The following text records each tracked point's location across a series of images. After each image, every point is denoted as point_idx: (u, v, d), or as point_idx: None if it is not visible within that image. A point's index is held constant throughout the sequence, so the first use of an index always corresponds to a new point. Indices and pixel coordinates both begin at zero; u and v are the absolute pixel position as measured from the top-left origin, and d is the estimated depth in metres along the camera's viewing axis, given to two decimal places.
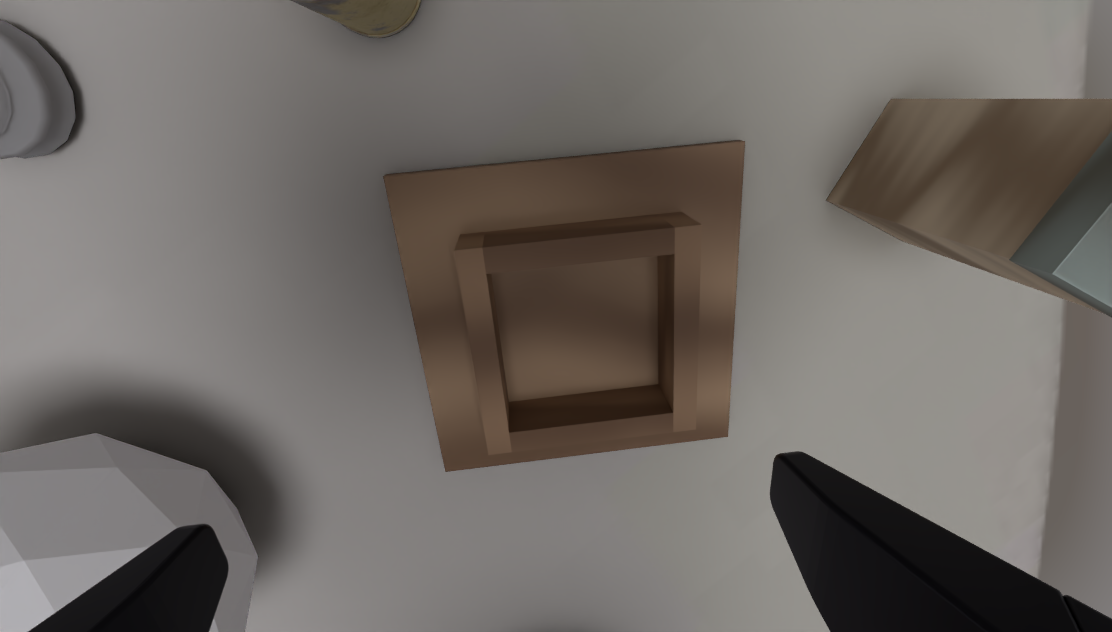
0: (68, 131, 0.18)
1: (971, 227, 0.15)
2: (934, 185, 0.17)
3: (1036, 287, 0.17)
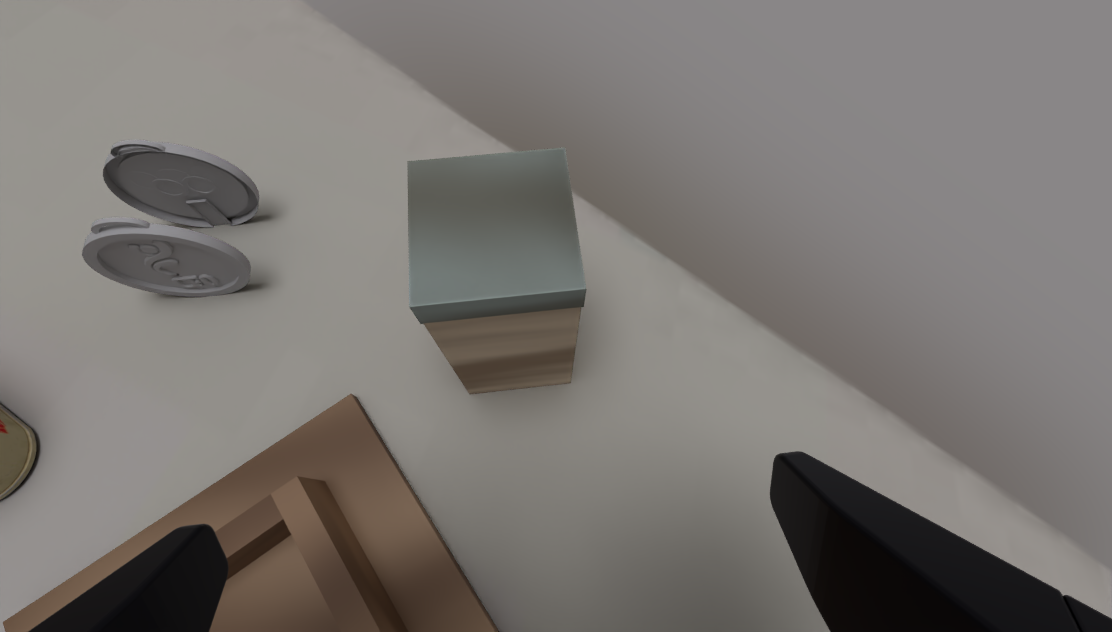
0: None
1: None
2: None
3: (564, 332, 0.16)
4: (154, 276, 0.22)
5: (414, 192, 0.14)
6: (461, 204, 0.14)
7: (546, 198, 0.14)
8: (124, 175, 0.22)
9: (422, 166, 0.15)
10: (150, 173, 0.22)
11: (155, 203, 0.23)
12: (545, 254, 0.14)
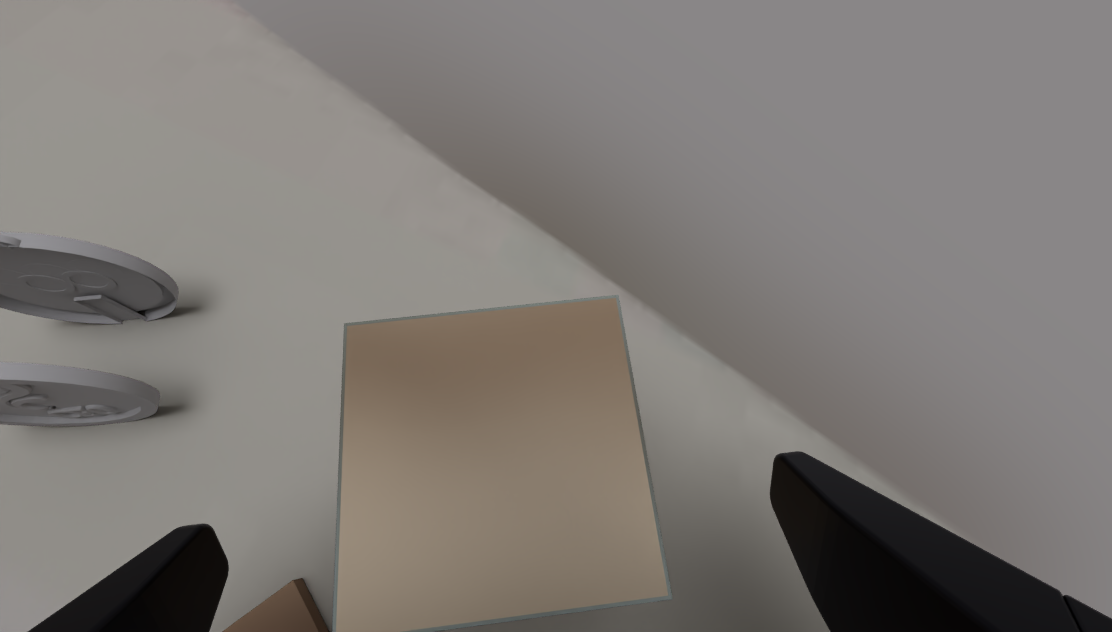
0: None
1: None
2: None
3: None
4: (20, 410, 0.16)
5: (353, 387, 0.08)
6: (437, 410, 0.08)
7: (590, 397, 0.08)
8: None
9: (370, 333, 0.08)
10: (11, 269, 0.15)
11: (33, 300, 0.17)
12: (592, 520, 0.07)
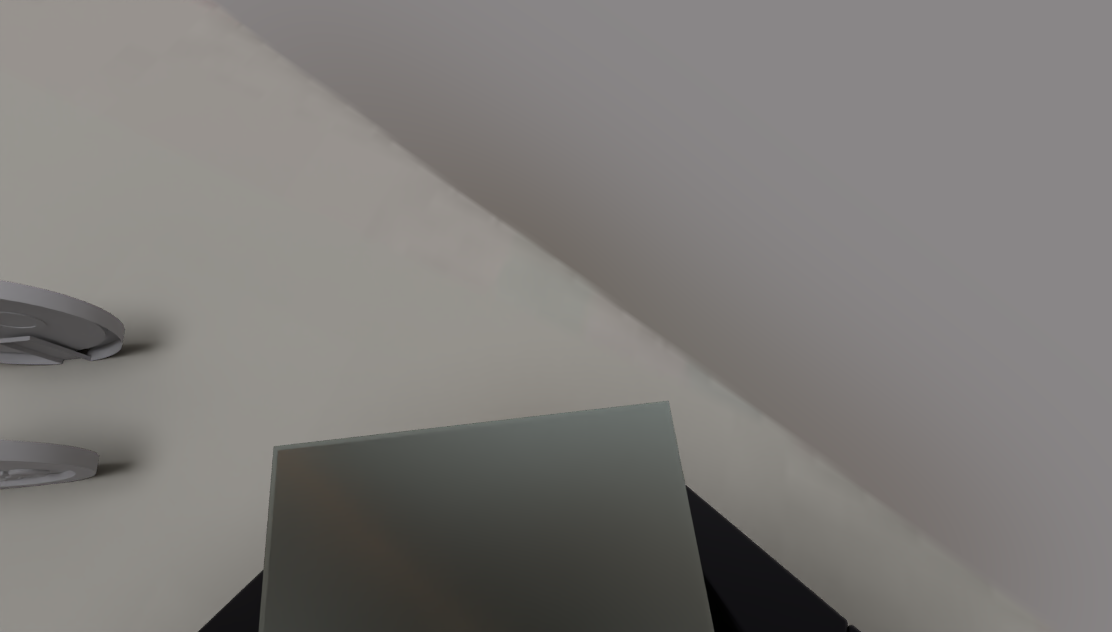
0: None
1: None
2: None
3: None
4: None
5: (281, 549, 0.05)
6: (405, 587, 0.05)
7: (632, 566, 0.05)
8: None
9: (310, 463, 0.06)
10: None
11: None
12: None
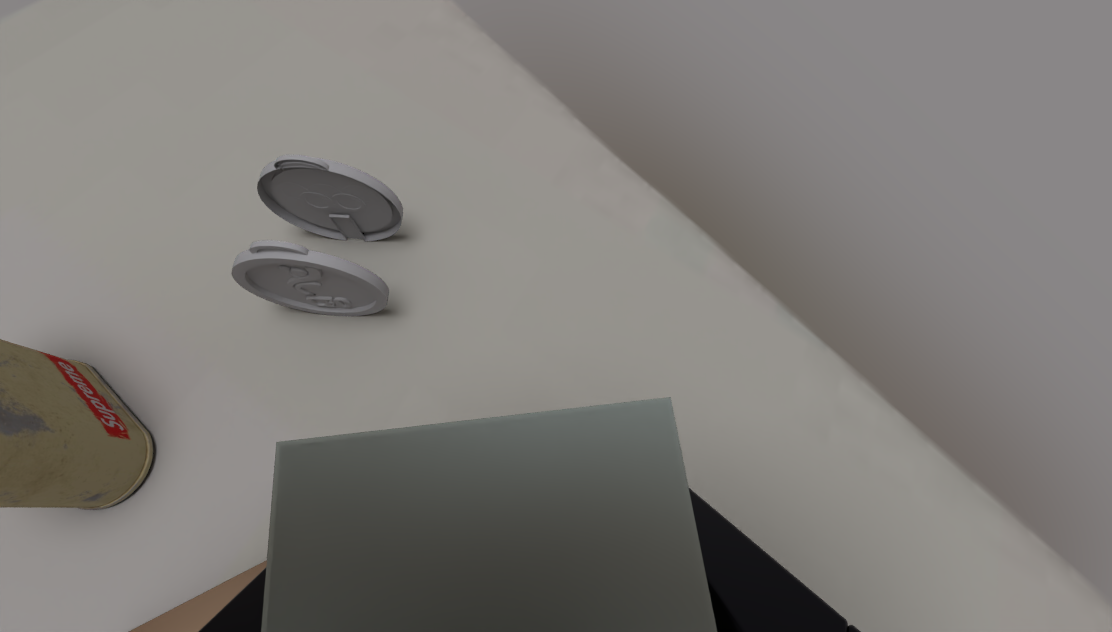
0: None
1: None
2: None
3: None
4: (290, 292, 0.21)
5: (283, 545, 0.05)
6: (408, 582, 0.05)
7: (635, 561, 0.05)
8: (277, 185, 0.20)
9: (313, 458, 0.06)
10: (303, 185, 0.20)
11: (297, 212, 0.22)
12: None
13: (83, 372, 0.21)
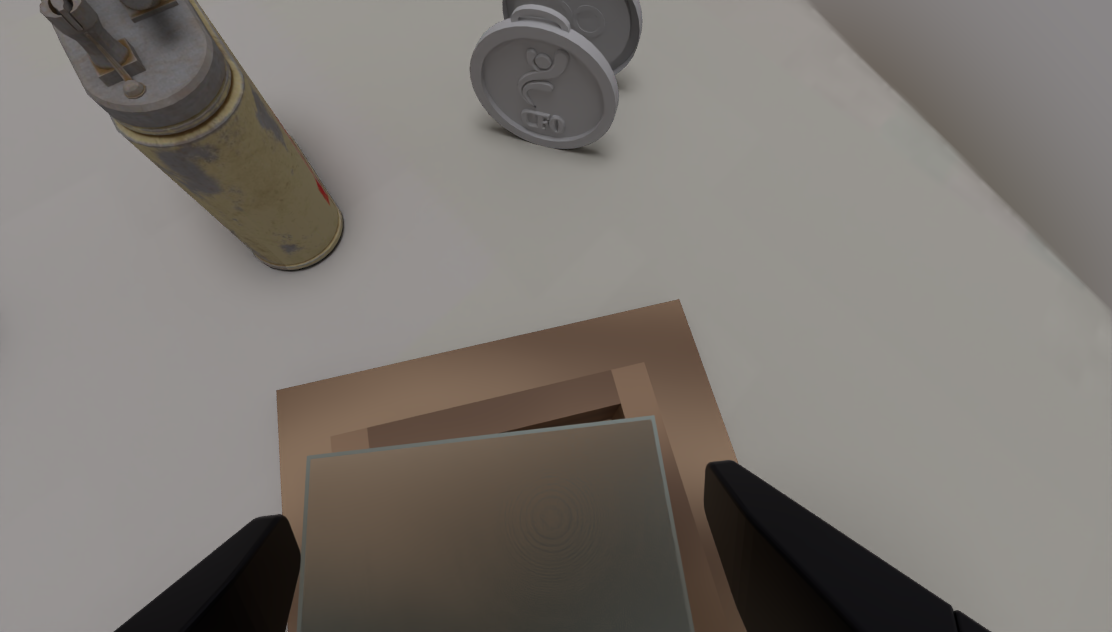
0: None
1: None
2: None
3: None
4: (510, 100, 0.20)
5: (315, 546, 0.06)
6: (424, 578, 0.06)
7: (622, 560, 0.06)
8: None
9: (339, 469, 0.07)
10: None
11: None
12: None
13: (291, 139, 0.20)
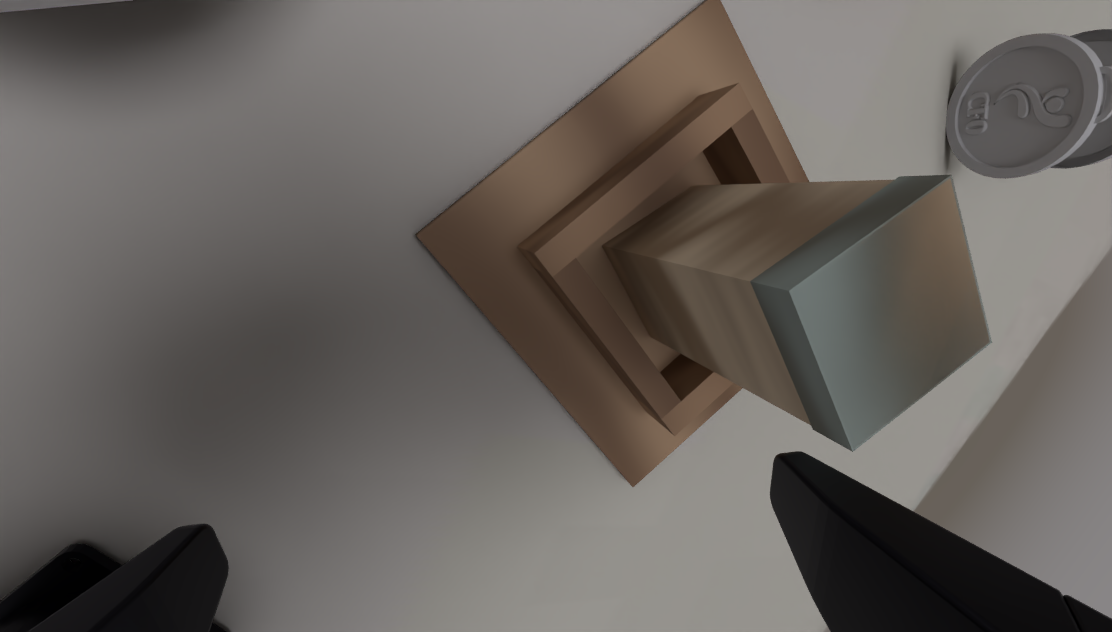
0: None
1: (723, 260, 0.13)
2: (702, 233, 0.15)
3: (752, 384, 0.15)
4: (997, 78, 0.22)
5: (916, 208, 0.11)
6: (913, 272, 0.11)
7: (935, 358, 0.12)
8: None
9: (947, 197, 0.11)
10: None
11: None
12: (877, 394, 0.12)
13: None
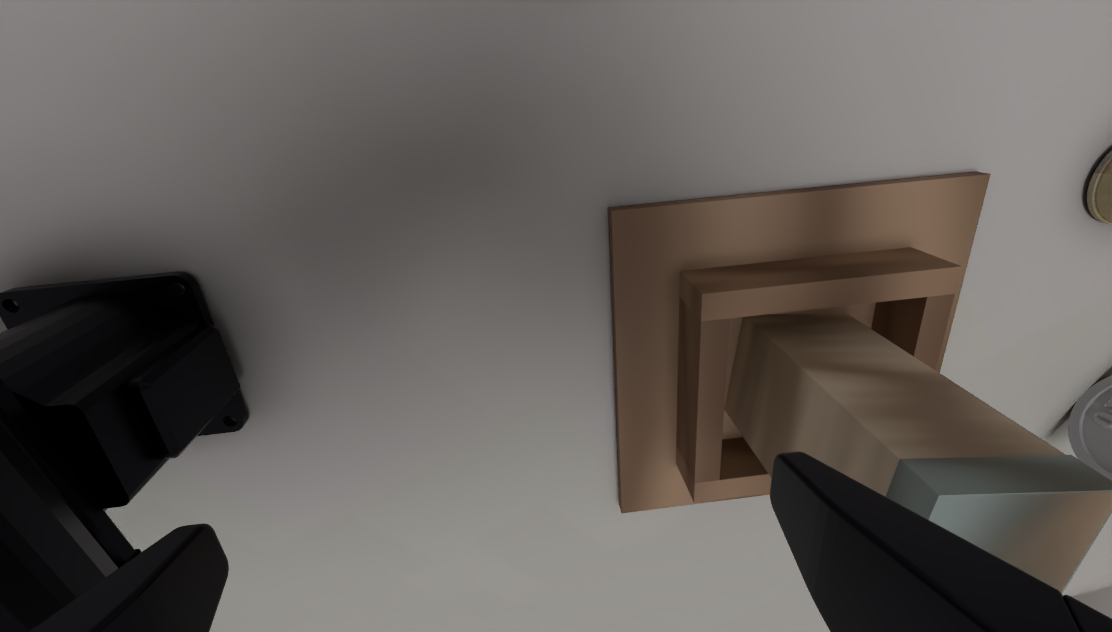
0: None
1: (873, 418, 0.14)
2: (854, 374, 0.16)
3: None
4: None
5: (1078, 496, 0.11)
6: (1034, 541, 0.12)
7: None
8: None
9: (1107, 504, 0.12)
10: None
11: None
12: None
13: None
